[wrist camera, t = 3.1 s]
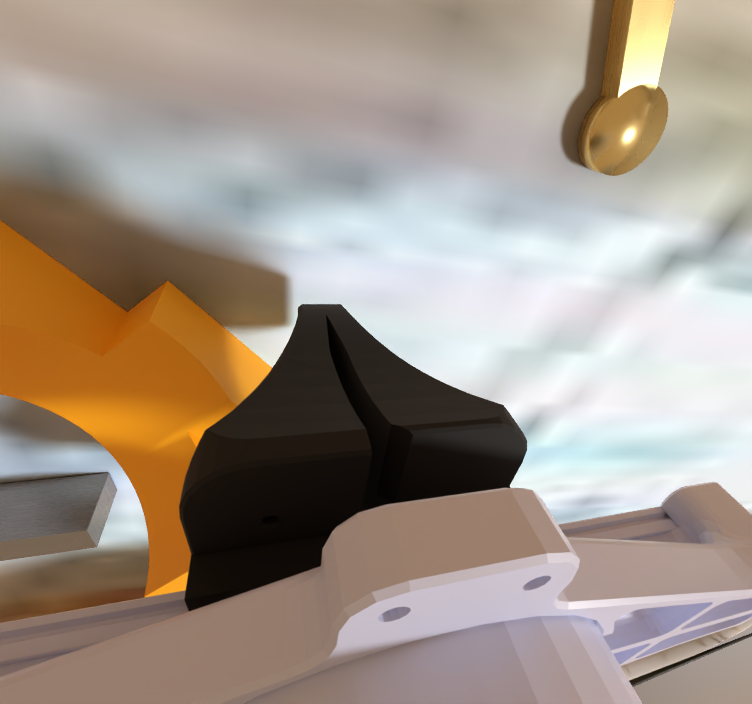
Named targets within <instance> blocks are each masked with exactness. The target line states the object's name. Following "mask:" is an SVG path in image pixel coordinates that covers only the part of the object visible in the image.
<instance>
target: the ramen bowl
mask: <svg viewBox="0 0 752 704" xmlns="http://www.w3.org/2000/svg"><path fill="white" fill-rule="evenodd" d="M751 625H752V618H751V619H750V620H748V621H746V622H744V623H743V624H741V625H738V626H734V627H731V628H728V629H725V630H722V631H719V632H715V633H712V634H709V635H706V636H703V637H700V638H697V639H694V640H691V641H688V642H685V643H683V644H680V645H677V646H674V647H671V648H669V649H666V650H663V651H660V652H658V653H655V654H652V655H649V656H647V657H644V658H641V659H638V660H636V661H633V662H630V663H628V664H625V665H622V666H621V668H622V670H623V671H624V673H625V675H626V677H627V678H628V680H629V682H630V683H631V685H632V687H634V686H636V685H638V684H641V683H643V682H645V681H648V680H650V679H652V678H655V677H657V676H659V675H662V674H664V673H666V672H669V671H671V670H673V669H676V668H678V667H680V666H683V665H685V664H688V663H690V662H692V661H695V660H697V659H699V658H701V657H704V656H706V655H709V654H711V653H713V652H716V651H718V650H720V649H723V648H725V647H727V646H730V645H732V644H734V643H737V642H739V641H742V640H744V639H746V638H749V637H751V636H752V633H751V634H749V635H746V636H743V637H741V638H738V639H735V640H733V641H730V642H728V643H725V644H722V645H720V646H717V647H715V648H712V649H710V650H707V649H709V648H711V647H713V646H715V645H717V644H719V643H721V642H722V641H725V640H726V639H728V638H730V637H732V636H734V635H736V634H738V633H740V632H742V631H744V630H745V629H746V628H748V627H749V626H751ZM705 650H707V651H705ZM702 651H704V652H702ZM700 652H702V653H700ZM698 653H699V654H698Z"/></svg>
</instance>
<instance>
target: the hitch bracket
mask: <svg viewBox="0 0 752 704" xmlns="http://www.w3.org/2000/svg"><path fill="white" fill-rule="evenodd" d="M116 492H117V489H116V486H115V484H114V482H113V480H112V478H111V476H110V474H109V473H103V474H93V475H83V476H73V477H63V478H53V479H43V480H34V481H24V482H14V483H4V484H0V561H3V560H10V559H17V558H24V557H31V556H38V555H45V554H52V553H59V552H66V551H73V550H80V549H87V548H94V547H97V546H98V543H99V540H100V537H101V534H102V531H103V529H104V526H105V523H106V520H107V517H108V514H109V512H110V509H111V506H112V503H113V500H114V497H115V495H116Z"/></svg>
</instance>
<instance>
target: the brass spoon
mask: <svg viewBox="0 0 752 704" xmlns="http://www.w3.org/2000/svg"><path fill="white" fill-rule="evenodd" d="M674 3H675V0H614V5H613V12H612V19H611V27H610V34H609V41H608V48H607V56H606V63H605V70H604V78H603V85H602V92H601V97H600V98H599V99H598V100H597V101H596V102H595V103H594V105H593V106H592V107H591V109H590V110H589V112H588V113H587V115H586V117H585V119H584V121H583V123H582V126H581V129H580V132H579V137H578V153H579V157H580V160H581V161H582V163H583V164H584V165H585V166H586V167H587V168H589V169H591V170H594V171H597V172H600V173H603V174H606V175H612V176H615V175H621V174H624V173H626V172H628V171H630V170H632V169H634V168H635V167H637V166H638V165H639V164H640V163H642V162H643V161H644V160H645V159H646V158H647V157H648V155H649V154H650V153H651V152H652V151H653V149H654V148H655V146H656V145H657V143H658V141H659V140H660V138H661V136H662V133H663V131H664V128H665V125H666V122H667V116H668V102H667V98H666V95H665V94H664V92H663V91H662V90H661V88H659V87H658V86H657V83H658V79H659V74H660V69H661V65H662V60H663V55H664V50H665V46H666V41H667V36H668V32H669V27H670V22H671V18H672V13H673V8H674Z"/></svg>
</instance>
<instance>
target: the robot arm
mask: <svg viewBox="0 0 752 704" xmlns="http://www.w3.org/2000/svg"><path fill="white" fill-rule="evenodd" d="M526 451H527V440H526V438H525V436H524V434H523V432H522V431H521V429H520V428H519V426H518V425H517V423H516V422H515V421H514V419H513V418H512V416H511V415H510V413H509V412H508V411H507V409H506V408H505V407H504V405H501V404H498V403H495V402H492V401H489V400H486V399H483V398H480V397H477V396H474V395H471V394H468V393H466V392H464V391H461V390H459V389H456V388H454V387H452V386H449V385H447V384H445V383H443V382H441V381H439V380H437V379H435V378H433V377H431V376H429V375H427V374H425V373H423V372H422V371H420V370H418V369H416V368H415V367H413V366H411V365H410V364H408V363H407V362H405V361H404V360H402V359H401V358H399V357H398V356H396V355H395V354H394V353H392V352H391V351H390V350H388V349H387V348H386V347H385V346H384V345H382V344H381V343H380V342H379V341H377V340H376V339H375V338H374V337H373V336H372V335H371V334H370V333H368V332H367V331H366V330H365V329H364V328H363V327H362V326H361V325H360V324H359V323H358V322H357V321H356V320H355V319H354V318H353V317H352V316H351V315H350V314H349V312H348V311H347V310H346V309H345V308H344V307H343V306H342V305H341V304H302V305H301V306H299V307H298V317H297V321H296V324H295V327H294V330H293V332H292V335H291V337H290V339H289V341H288V343H287V345H286V347H285V349H284V351H283V352H282V354H281V356H280V357H279V359H278V361H277V362H276V364H275V365H274V366H273V368H272V369H271V371H270V372H269V373H268V375H267V376H266V377H265V378H264V379H263V381H262V382H261V383H260V384H259V385H258V386H257V387H256V389H255V390H254V391H253V392H252V393H251V394H250V395H249V396H247V397H246V398H245V399H244V400H243V401H242V402H241V403H240V404H239V405H238V406H237V407H236V408H235V409H233V410H232V411H231V412H230V413H229V414H227V415H226V416H224V417H223V418H222V419H220V420H219V421H218V422H216V423H215V424H213V425H212V426H210V427H209V428H207V429H206V430H205V431H204V433H203V435H202V437H201V439H200V441H199V443H198V445H197V447H196V450H195V452H194V454H193V457H192V459H191V462H190V465H189V467H188V470H187V473H186V476H185V480H184V484H183V489H182V494H181V499H180V504H179V514H180V520H181V524H182V527H183V530H184V533H185V536H186V539H187V542H188V545H189V549H190V552H191V559H190V566H189V572H188V579H187V585H186V590H184V591H179V592H173V593H167V594H162V595H156V596H150V597H145V598H139V599H133V600H128V601H122V602H116V603H111V604H105V605H99V606H94V607H88V608H82V609H77V610H71V611H65V612H60V613H54V614H48V615H43V616H37V617H31V618H26V619H20V620H14V621H9V622H3V623H0V704H642V702H641V700H640V699H639V697H638V695H637V694H636V692H635V690H634V689H633V687H632V685H631V683H630V682H629V680H628V678H627V677H626V675H625V673H624V671H623V670H622V668H621V666H622V665H625V664H628V663H630V662H633V661H636V660H638V659H641V658H644V657H647V656H649V655H652V654H655V653H658V652H660V651H663V650H666V649H669V648H671V647H674V646H677V645H680V644H683V643H685V642H688V641H691V640H694V639H697V638H700V637H703V636H706V635H709V634H712V633H715V632H719V631H722V630H725V629H728V628H731V627H734V626H738V625H741V624H743V623H744V622H746V621H748V620H750V619H751V618H752V515H751V514H750V513H749V512H748V511H747V510H746V509H745V508H744V507H743V506H742V505H740V504H739V503H738V502H737V501H736V500H735V499H734V498H733V497H732V496H731V495H730V494H729V493H728V492H727V491H725V490H724V489H723V488H722V487H721V486H720V485H719V484H718V483H715V482H710V483H703V484H697V485H691V486H686V487H682V488H680V489H678V490H676V491H674V492H673V493H671V494H670V495H669V496H668V497H667V498H666V499H665V500H664V502H663V503H662V505H661V506H660V507H655V508H649V509H643V510H638V511H632V512H626V513H621V514H615V515H609V516H604V517H598V518H592V519H587V520H581V521H575V522H570V523H564V524H557V522H556V521H555V519H554V518H553V516H552V514H551V513H550V511H549V510H548V508H547V506H546V505H545V503H544V502H543V500H542V499H541V498H540V497H539V496H538V495H537V494H536V493H535V492H534V491H533V490H529V489H523V488H510V484H511V482H512V480H513V478H514V476H515V475H516V473H517V471H518V469H519V467H520V465H521V464H522V462H523V459H524V456H525V454H526Z"/></svg>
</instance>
